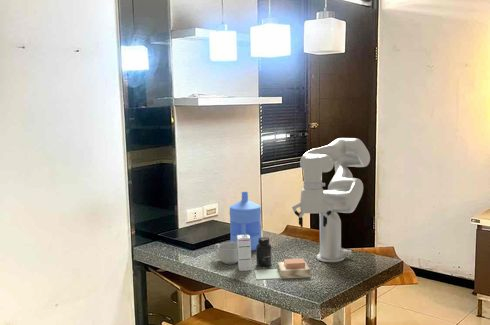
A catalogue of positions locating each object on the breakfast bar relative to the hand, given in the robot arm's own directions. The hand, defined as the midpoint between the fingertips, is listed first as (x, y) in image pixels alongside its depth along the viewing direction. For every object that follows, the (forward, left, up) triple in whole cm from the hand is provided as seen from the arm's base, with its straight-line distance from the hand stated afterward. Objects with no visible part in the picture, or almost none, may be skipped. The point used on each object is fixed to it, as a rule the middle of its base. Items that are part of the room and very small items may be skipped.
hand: (312, 226), depth 207 cm
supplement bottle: (+20, -12, -20) cm, 30 cm away
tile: (+8, +1, -16) cm, 18 cm away
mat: (+14, +1, -20) cm, 24 cm away
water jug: (+26, -40, -20) cm, 52 cm away
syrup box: (+29, -8, -20) cm, 36 cm away
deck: (+9, +1, -20) cm, 21 cm away
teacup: (+36, -19, -20) cm, 45 cm away
